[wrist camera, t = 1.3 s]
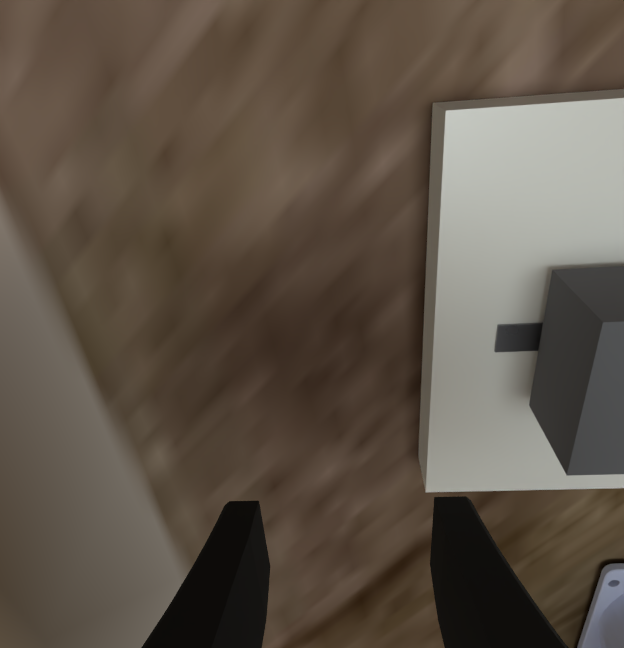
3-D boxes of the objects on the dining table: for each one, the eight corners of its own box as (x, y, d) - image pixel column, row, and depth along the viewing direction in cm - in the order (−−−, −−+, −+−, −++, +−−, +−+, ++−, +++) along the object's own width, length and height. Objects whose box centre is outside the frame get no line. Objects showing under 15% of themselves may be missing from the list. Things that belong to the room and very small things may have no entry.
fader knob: (635, 401, 17) (695, 472, 14) (528, 405, 17) (567, 475, 14) (677, 263, 15) (758, 315, 12) (552, 269, 15) (603, 322, 12)
